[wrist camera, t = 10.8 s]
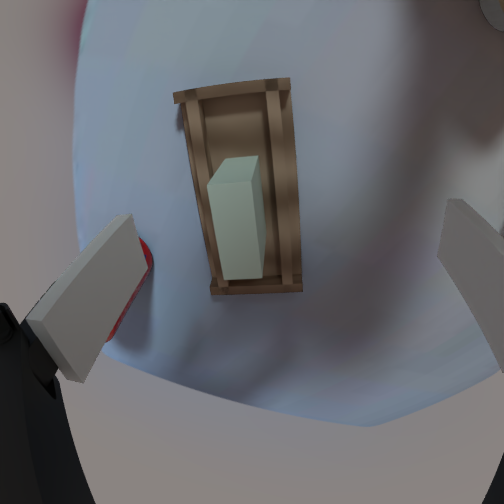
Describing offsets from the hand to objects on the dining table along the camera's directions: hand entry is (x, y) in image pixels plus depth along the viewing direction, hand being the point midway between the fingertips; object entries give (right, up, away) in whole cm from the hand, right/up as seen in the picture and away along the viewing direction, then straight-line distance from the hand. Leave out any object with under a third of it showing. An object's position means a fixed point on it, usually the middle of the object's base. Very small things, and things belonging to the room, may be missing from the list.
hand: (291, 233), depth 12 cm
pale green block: (-2, +5, +22) cm, 22 cm away
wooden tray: (-2, +6, +22) cm, 23 cm away
